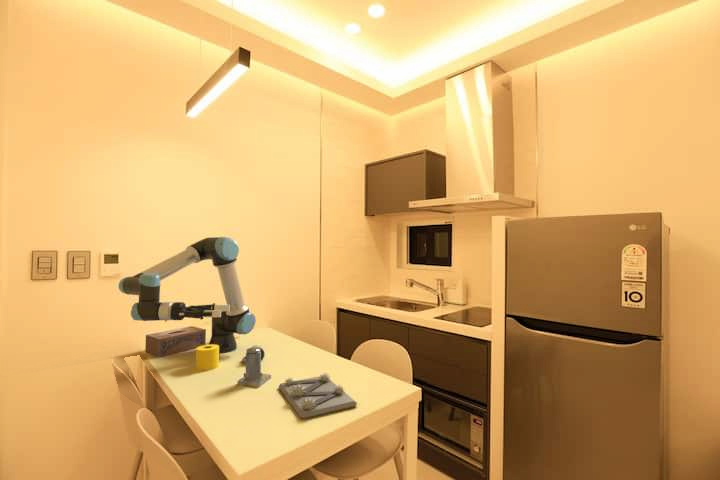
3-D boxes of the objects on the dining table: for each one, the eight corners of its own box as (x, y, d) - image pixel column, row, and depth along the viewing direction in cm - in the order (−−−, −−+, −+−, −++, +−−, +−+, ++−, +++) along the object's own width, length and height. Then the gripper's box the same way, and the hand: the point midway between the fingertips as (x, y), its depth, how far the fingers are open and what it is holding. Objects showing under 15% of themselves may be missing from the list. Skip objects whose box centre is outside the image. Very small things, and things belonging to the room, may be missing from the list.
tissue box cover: (191, 342, 203) (191, 326, 204) (205, 346, 195) (205, 329, 196) (145, 353, 182) (145, 334, 182) (158, 358, 174) (159, 339, 174)
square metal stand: (250, 376, 150) (250, 353, 151) (270, 378, 148) (271, 355, 148) (237, 384, 140) (237, 360, 141) (259, 387, 138) (259, 362, 138)
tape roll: (198, 372, 154) (199, 351, 154) (193, 366, 162) (193, 346, 162) (221, 367, 160) (221, 347, 161) (215, 362, 168) (215, 343, 168)
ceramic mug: (263, 357, 177) (262, 342, 177) (264, 362, 169) (264, 346, 169) (241, 359, 173) (241, 344, 173) (242, 365, 165) (242, 349, 165)
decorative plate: (358, 408, 122) (358, 388, 122) (301, 422, 111) (301, 400, 112) (326, 379, 148) (326, 363, 148) (277, 389, 138) (278, 371, 138)
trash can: (263, 374, 148) (263, 347, 148) (261, 380, 142) (261, 351, 142) (245, 375, 147) (245, 347, 147) (242, 380, 141) (243, 351, 141)
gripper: (184, 314, 155) (232, 313, 158) (159, 326, 130) (216, 325, 133) (185, 298, 155) (232, 297, 158) (159, 307, 130) (216, 306, 133)
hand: (225, 310), depth 145 cm, fingers open, 13 cm apart
